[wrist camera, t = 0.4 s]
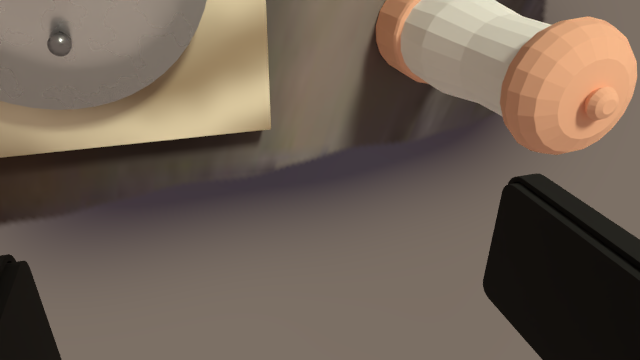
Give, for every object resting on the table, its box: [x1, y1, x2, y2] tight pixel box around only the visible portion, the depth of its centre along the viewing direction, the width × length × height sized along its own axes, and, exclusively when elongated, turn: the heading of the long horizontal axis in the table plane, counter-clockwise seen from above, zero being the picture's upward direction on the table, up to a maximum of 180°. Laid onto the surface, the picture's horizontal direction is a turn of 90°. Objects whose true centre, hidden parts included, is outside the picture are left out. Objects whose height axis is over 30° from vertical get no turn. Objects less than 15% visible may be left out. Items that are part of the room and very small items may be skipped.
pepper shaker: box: [376, 0, 637, 155], centre depth 31 cm, size 7×7×19 cm
